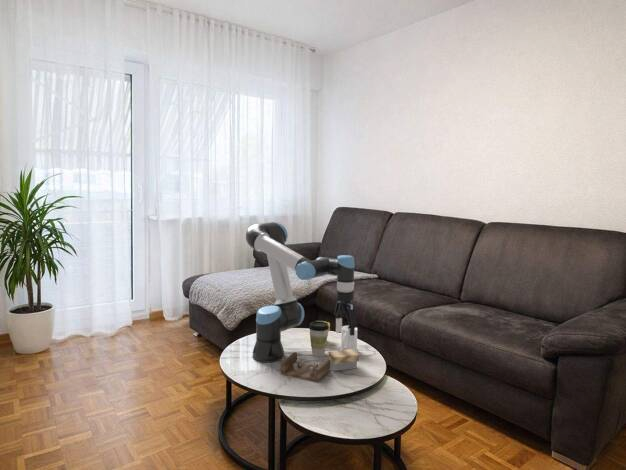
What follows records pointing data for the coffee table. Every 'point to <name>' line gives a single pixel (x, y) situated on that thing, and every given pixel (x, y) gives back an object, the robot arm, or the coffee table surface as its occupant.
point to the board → (343, 356)
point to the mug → (344, 340)
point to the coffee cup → (318, 337)
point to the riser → (342, 366)
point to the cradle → (304, 369)
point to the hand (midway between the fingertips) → (344, 336)
